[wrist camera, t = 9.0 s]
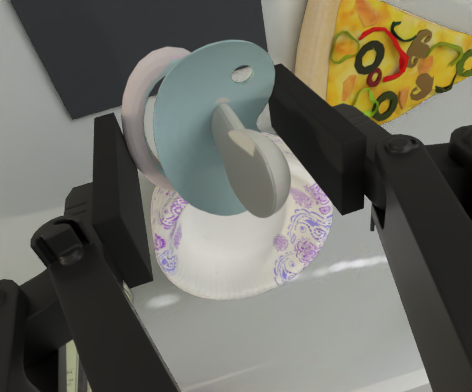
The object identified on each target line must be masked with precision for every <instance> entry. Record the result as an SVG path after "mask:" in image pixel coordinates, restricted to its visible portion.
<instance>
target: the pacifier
mask: <svg viewBox="0 0 472 392" xmlns="http://www.w3.org/2000/svg"><path fill="white" fill-rule="evenodd" d="M243 65H248V66H251V67H252V74H251V76H250V77H249V78H248V79H247V80H245V81H243V82H235V81H233V80H232V73H233V72H234V70H235V69H236V68H238V67H240V66H243ZM164 76H165V78H164V80H163V82H162V84H161V86H160V88H159V91H158V94H157V98H156V101H155V107H154V116H153V130H154V140H155V145H156V149H157V153H158V157H159V160H160V162H159V161H158V159H157V158H156V157H155V156H154V154H153V153H152V151H151V149H150V147H149V145H148V143H147V139H146V136H145V132H144V122H143V121H144V111H145V105H146V102H147V99H148V96H149V94H150V92H151V90H152V89H153V87H154V86H155V84H156V83H157V82H158V81H159V80H160V79H162V78H163V77H164ZM274 79H275V68H274V63H273V61H272V59H271V57H270V56H269V54H268V53H267V52H266V51H265V50H264V49H263V48H261V47H259V46H258V45H256V44H254V43H252V42H248V41H244V40H225V41H219V42H215V43H211V44H208V45H205V46H203V47H201V48H199V49H197V50H195V51H193V52H189V51H187V50H185V49H183V48H176V47H164V48H161V49H158V50H155V51H152V52H150V53H149V54H148V55H147V56H146V57H144V58H143V59H142V60H141V61H139V62H138V64H137V66H136V67H135V69H134V70H133V72H132V73H131V75H130V76H129V79H128V82H127V85H126V88H125V91H124V94H123V101H122V113H121V118H122V127H123V135H124V138H125V142H126V145H127V148H128V150H129V153H130V155H131V157H132V159H133V161H134V162H135V164H136V166H137V168H138V169H139V170H140V171H141V172H142V173H143V175H144V176H145V177H146V178H147V179H148V180H149V181H151V182H152V183H154V184H155V185H157V186H158V187H160V188H162V189H165V190H168V191H171V192H178V194H179V195H180V196H181V197H182V198H183V199H184V200H185V201H186V202H188V203H189V204H190V205H191V206H193V207H195V208H197V209H199V210H201V211H205V212H207V213H210V214H214V215H219V216H231V215H238V214H240V213H243V212H246V211H247V210H248V211H249V212H250V213H251V214H253V215H254V216H256V217H259V218H267V217H270V216H272V215H273V214H275V213H276V212H278V211H279V210H280V209H281V208H282V206H283V205H284V204H285V202H286V200H287V198H288V195H289V192H290V187H291V175H290V169H289V166H288V163H287V160H286V158H285V156H284V154H283V153H282V151H281V150H280V148H279V147H278V146H277V145H276V144H275V143H274V142H273V141H272V140H271V139H270V138H268V137H267V136H265V135H263V134H262V133H261V132H260V130H258V128H257V124H256V122H257V118H258V116H259V115H260V114H261V112H262V111H263V109H264V108H265V106H266V104H267V103H268V101H269V98H270V96H271V94H272V90H273V86H274Z"/></svg>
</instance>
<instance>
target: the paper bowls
mask: <svg viewBox="0 0 472 392" xmlns="http://www.w3.org/2000/svg"><path fill="white" fill-rule="evenodd" d="M260 132H261V133H262V134H263V135H265V136H267V137H268V138H270V139H271V140H272V141H273V142H274V143H275V144H276V145H277V146H278V147H279V148H280V150H281V151H282V153H283V154H284V156H285V158H286V160H287V163H288V166H289V169H290V175H291V187H290V192H289V195H288V198H287V200H286V202H285V204H284V205H283V206H282V208H281V209H280V210H279V211H278V212H276V213H275V214H273V215H272V216H270V217H267V218H259V217H256V216H254V215H253V214H251V213H250V212H249V211H248V210H247V211H246V212H243V213H240V214H238V215H231V216H219V215H214V214H210V213H207V212H205V211H201V210H199V209H197V208H195V207H193V206H191V205H190V204H189V203H188V202H186V201H185V200H184V199H183V198H182V197H181V196H180V195H179V194H178V192H171V191H168V190H165V189H162V188H160V187H158V186H157V185H156V188H155V190H154V193H153V196H152V202H151V227H152V235H153V241H154V247H155V254H156V259H157V262H158V264H159V266H160V268H161V270H162V271H163V273H164V274H165V275H166V277H167V278H168V279H169V280H170V281H171V282H172V283H173V284H174V285H176V286H177V287H178V288H180V289H181V290H183V291H185V292H187V293H189V294H192V295H194V296H197V297H201V298H205V299H212V300H236V299H243V298H248V297H252V296H256V295H259V294H262V293H265V292H267V291H270V290H272V289H274V288H276V287H278V286H280V285H282V284H284V283H285V282H287V281H288V280H290V279H292V278H293V277H294V276H296V275H297V274H298V273H300V272H301V271H302V270H303V269H304V268H305V267H306V266H307V265H308V264H309V263H310V262H311V261H312V260H313V259H314V258H315V256H316V255H317V254H318V252H319V251H320V249H321V248H322V246H323V244H324V242H325V240H326V238H327V236H328V233H329V231H330V227H331V223H332V214H333V208H332V202H331V201H330V199H329V198H328V197H327V196H326V194H325V193H324V192H323V191H322V189H321V188H320V187H319V186H318V184H317V183H316V182H315V181H314V179H313V178H312V177H311V175H310V174H309V173H308V172H307V170H306V169H305V168H304V167H303V165H302V164H301V163H300V162H299V160H298V159H297V158H296V157H295V155H294V154H293V153H292V151H291V150H290V149H289V148H288V146H287V145H286V144H285V143H284V141H283V140H282V139H281V138H280V137H278V136H276V135H273V134H270V133H266V132H263V131H260Z"/></svg>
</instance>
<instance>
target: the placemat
mask: <svg viewBox="0 0 472 392" xmlns="http://www.w3.org/2000/svg"><path fill="white" fill-rule="evenodd" d="M10 1H11V3H12V5H13V7H14V9H15V10H16V12H17V14H18V16H19V18H20V20H21V22H22V24H23V26H24V28H25V30H26V32H27V34H28V35H29V37H30V39H31V41H32V43H33V45H34V47H35V49H36V51H37V53H38V55H39V57H40V59H41V60H42V62H43V64H44V66H45V68H46V70H47V72H48V74H49V76H50V78H51V80H52V82H53V83H54V85H55V87H56V89H57V91H58V93H59V95H60V97H61V99H62V101H63V103H64V105H65V107H66V108H67V110H68V112H69V114H70V116H71V118H72V120H74V119H77V118H80V117H84V116H87V115H90V114H93V113H97V112H100V111H103V110H107V109H110V108H113V107H117V106H120V105H122V101H123V94H124V91H125V88H126V85H127V82H128V79H129V76H130V75H131V73H132V72H133V70H134V69H135V67H136V66H137V64H138V62H139V61H141V60H142V59H143V58H144V57H146V56H147V55H148V54H149V53H150V52H152V51H155V50H158V49H161V48H164V47H176V48H183V49H185V50H187V51H189V52H193V51H195V50H197V49H199V48H201V47H203V46H205V45H208V44H211V43H215V42H219V41H225V40H244V41H248V42H252V43H254V44H256V45H258V46H259V47H261V48H263V49H264V50H265V51H266V52H267V53H268V51H267V43H266V36H265V29H264V21H263V14H262V7H261V0H10ZM245 67H248V65H243V66H240V67H238V68H236V69H235V70H238V69H242V68H245ZM235 70H234V71H235ZM164 78H165V76H164V77H163V78H162V79H160V80H159V81H158V82H157V83H156V84H155V86H154V87H153V89H152V90H151V92H150V94H149V96H153V95H156V94H158V91H159V88H160V86H161V84H162V82H163V80H164ZM149 96H148V97H149Z"/></svg>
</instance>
